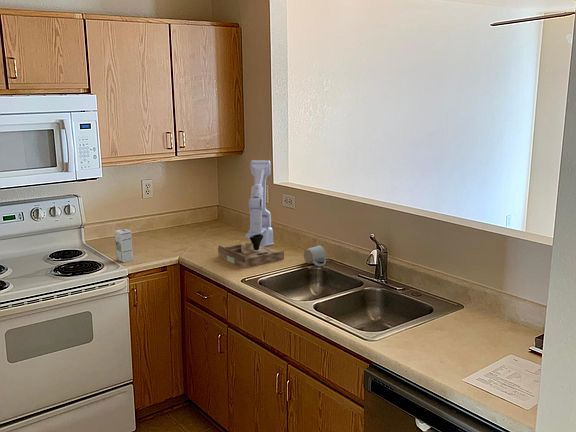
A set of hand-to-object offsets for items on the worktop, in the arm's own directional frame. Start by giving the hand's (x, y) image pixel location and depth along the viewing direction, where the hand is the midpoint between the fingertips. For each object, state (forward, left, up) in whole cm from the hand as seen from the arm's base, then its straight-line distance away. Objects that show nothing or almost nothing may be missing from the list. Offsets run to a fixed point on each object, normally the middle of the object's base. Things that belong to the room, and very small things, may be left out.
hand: (256, 249), depth 276 cm
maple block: (+4, -2, -1) cm, 5 cm away
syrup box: (+53, -33, -4) cm, 62 cm away
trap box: (+3, 0, -3) cm, 5 cm away
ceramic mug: (-16, +25, -4) cm, 31 cm away
